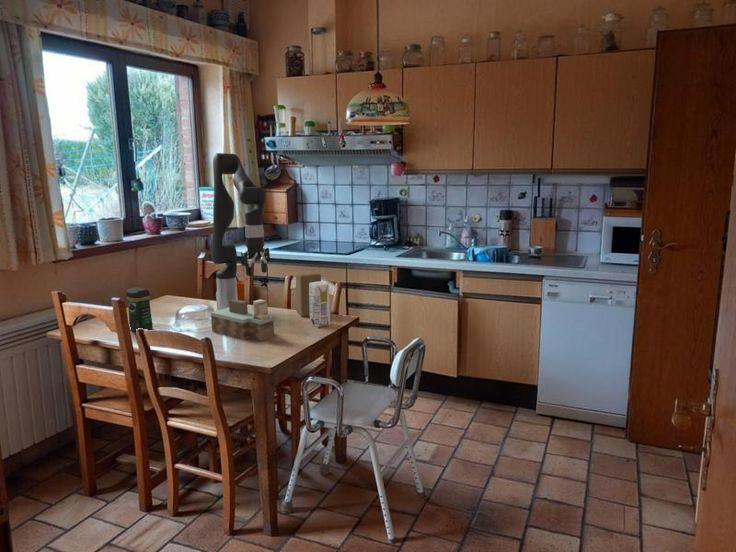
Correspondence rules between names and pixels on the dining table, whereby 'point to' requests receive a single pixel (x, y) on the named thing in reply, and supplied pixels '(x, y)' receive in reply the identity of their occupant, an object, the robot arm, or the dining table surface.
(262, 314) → the beige rectangular block
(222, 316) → the lid
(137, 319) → the coffee jar
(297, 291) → the wooden block
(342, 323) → the dining table surface
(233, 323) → the wooden tray
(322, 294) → the juice carton
